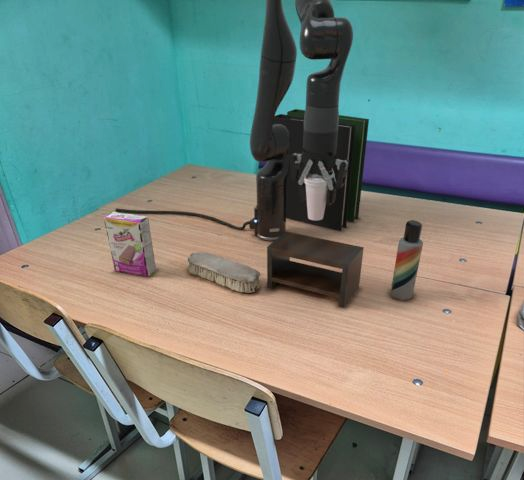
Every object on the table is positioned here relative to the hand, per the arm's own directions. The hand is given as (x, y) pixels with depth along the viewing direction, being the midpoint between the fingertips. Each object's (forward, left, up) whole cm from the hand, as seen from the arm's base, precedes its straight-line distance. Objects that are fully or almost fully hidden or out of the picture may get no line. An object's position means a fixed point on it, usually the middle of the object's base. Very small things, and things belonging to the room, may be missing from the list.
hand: (316, 201), depth 118 cm
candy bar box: (-49, -14, -24) cm, 56 cm away
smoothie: (0, 0, -4) cm, 4 cm away
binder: (-20, +47, -24) cm, 56 cm away
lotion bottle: (+22, +8, -24) cm, 34 cm away
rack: (0, 0, -24) cm, 24 cm away
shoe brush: (-24, -7, -24) cm, 35 cm away
